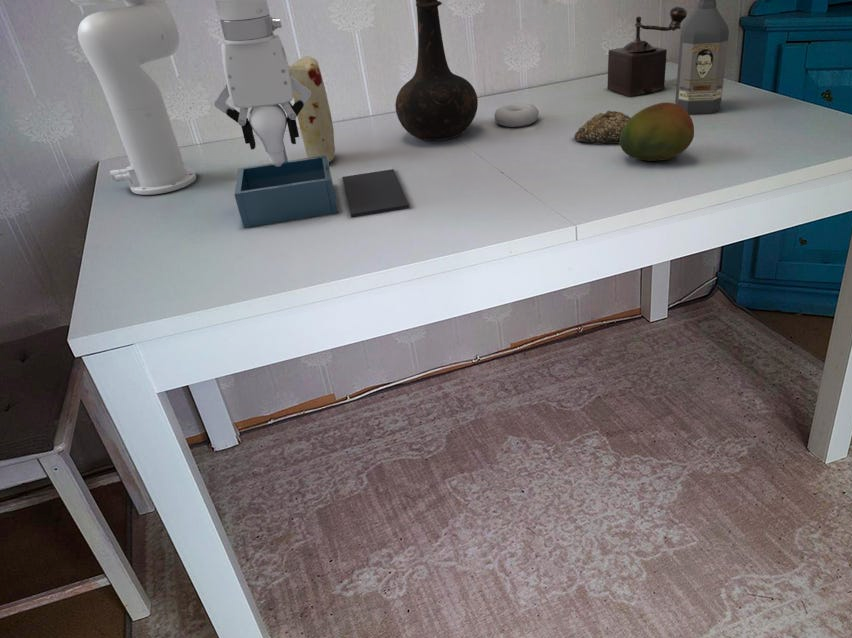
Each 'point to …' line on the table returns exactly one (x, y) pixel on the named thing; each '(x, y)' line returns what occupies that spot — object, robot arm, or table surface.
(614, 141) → the bread roll
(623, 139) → the fruit
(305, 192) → the sink
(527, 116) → the donut
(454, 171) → the table surface
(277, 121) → the lightbulb
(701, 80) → the liquor
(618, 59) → the manual coffee grinder
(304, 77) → the food model
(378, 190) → the mat
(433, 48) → the dark brown vase
